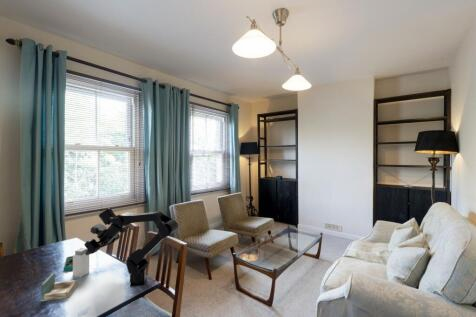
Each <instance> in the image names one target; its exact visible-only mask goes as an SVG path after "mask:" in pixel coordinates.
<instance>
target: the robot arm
mask: <svg viewBox="0 0 476 317" xmlns="http://www.w3.org/2000/svg"><path fill="white" fill-rule="evenodd" d="M98 217H99V219H100V220H101V221H102V223H103V224H102V223H97V224H95V225H93V226H92V227H91V228H90V233H91V234H92V235H97V236H96V237H97V239H98V241H97V240H96V239H95V238H91V239H89V240H88V241H86V242H84V244H83V245H84V247H85V248H86V249H87V251H86V253H85V254H86V255H89V256H90V255H92V254H95V253H97V252H98V251H99V250H100V249H102V248H105V247H106V246H108V245H109V246H110V245H111V244H113V243H116V242H117V241H119V240H120V239H121V236H120V234H123V233H125V232H127V231H128V230H127V225H132V224H135V223H146V222H153V223H154V224H155V227H156V228H157V229H158V231H157V233H156V234H155V236H154V237H153V238H152V239H151V240H149V241H148V242H147V243H146V244H145V245H144V246H143V247H142V248H140V247H139V248H138V249H135V251H133V252H132V253H131V254H130V255H129V256H127V257H126V261H125V265H126V268H127V273H128V274H129V283H130V285H129V287H135V286H136V287H138V286H144V285H145V284H146V281H147V277H146V276H147V275H146V274H147V271H146V268H147V267H149V262H148V260H147V259H146V258H147V256H148V254H150V253H151V252H152V251H153V250H154V249H155V248H156V247H157V246H158V245H159V244H161V242H163V240H164V239H165V238H167V237H169V236H170V235H172V234H173V233H174V232H176V231H178V229H179V224H178V222H177V221H176V220H174V219H173V218H172V217H170V216H168V215H166V214H164V213H163V212H162V211H159V210H158V211H152V212H143V213H142V212H141V213H135V212H132V211H131V212H130V211H129V212H127V211H125V212H124V213H120V214H117V215H116V213H115V212H114V211H113V209H112V208H111V207H109V208H106V209H105V210H103V211H102V212H100V213H99V214H98ZM107 225H108V227H107ZM119 233H120V234H119Z"/></svg>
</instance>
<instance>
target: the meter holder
mask: <svg viewBox="0 0 476 317" xmlns="http://www.w3.org/2000/svg"><path fill="white" fill-rule="evenodd" d="M77 285H78V280H77V279H75V280H73V279H71V280H66V281H65V280H64V281H56V272H52V273H51V274H50V275H49V276H48V277H47V278H46V279H45V280H44V281H43V283H41V284H40V286H41V287H40V290H41V292H40V293H41V294H40V295H41V296H40V297H41V298H40V302H45V301H53V300H61V299H68V298H69V297H70V296H71V295H72V293H73V291H74V290H76V287H77Z"/></svg>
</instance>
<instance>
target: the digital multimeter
mask: <svg viewBox="0 0 476 317" xmlns="http://www.w3.org/2000/svg"><path fill="white" fill-rule="evenodd" d="M69 271H73V255H70V256H67V257H66V258H65V264H64V266H63V272H69Z"/></svg>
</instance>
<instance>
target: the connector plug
mask: <svg viewBox="0 0 476 317" xmlns="http://www.w3.org/2000/svg"><path fill="white" fill-rule="evenodd" d="M86 251H87V248H86V247H85V248H84V247H79V249H76V250H75V251H74V254H73V255H72V256H73V270H72V276H73V277H78V278H83V276H84V277H85V276H86V275H87V274H88V273H90V254H89V255H86V254H85V253H86Z"/></svg>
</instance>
